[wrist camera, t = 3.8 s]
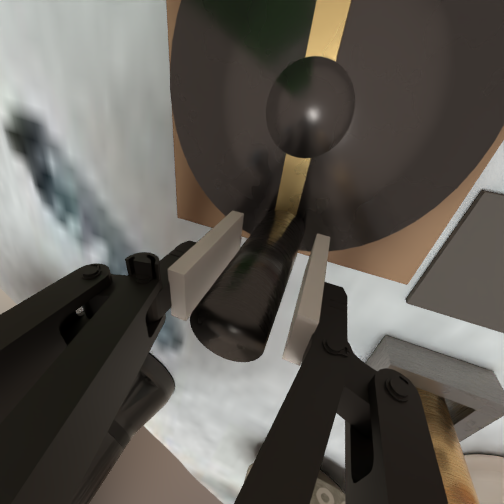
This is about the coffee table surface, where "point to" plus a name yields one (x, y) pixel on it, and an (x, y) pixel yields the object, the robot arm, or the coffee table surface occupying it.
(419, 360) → the eye block
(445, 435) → the hook peg
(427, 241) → the wheel base
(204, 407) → the coffee table surface
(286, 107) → the handwheel
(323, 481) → the planter
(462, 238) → the pad
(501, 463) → the jar
